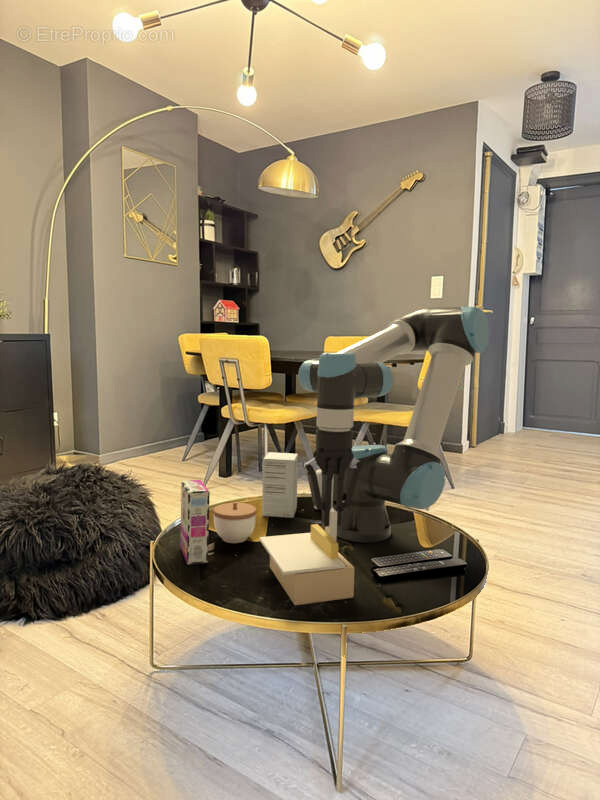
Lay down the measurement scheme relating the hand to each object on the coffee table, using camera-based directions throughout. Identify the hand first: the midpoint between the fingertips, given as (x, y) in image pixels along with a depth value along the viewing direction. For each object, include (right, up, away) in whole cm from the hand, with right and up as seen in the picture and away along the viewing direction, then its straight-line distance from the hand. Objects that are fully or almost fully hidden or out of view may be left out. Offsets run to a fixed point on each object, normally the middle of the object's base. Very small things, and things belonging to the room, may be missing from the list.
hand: (330, 540), depth 111 cm
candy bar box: (-31, -7, +12) cm, 34 cm away
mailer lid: (-6, -2, -2) cm, 7 cm away
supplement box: (-12, -4, +45) cm, 47 cm away
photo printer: (+3, -4, +50) cm, 50 cm away
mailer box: (-4, -8, 0) cm, 9 cm away
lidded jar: (-23, -6, +23) cm, 33 cm away
